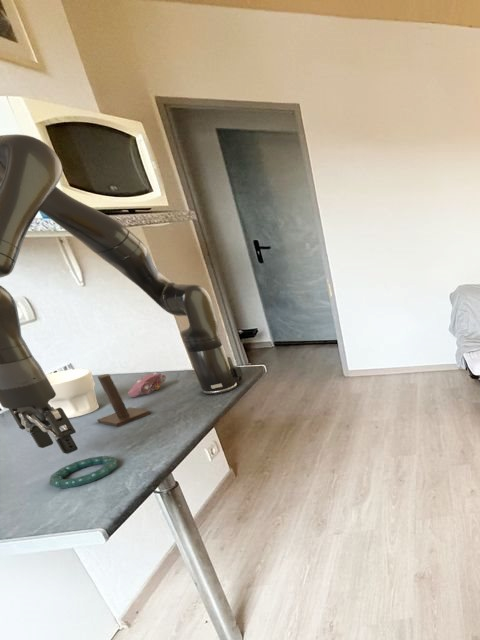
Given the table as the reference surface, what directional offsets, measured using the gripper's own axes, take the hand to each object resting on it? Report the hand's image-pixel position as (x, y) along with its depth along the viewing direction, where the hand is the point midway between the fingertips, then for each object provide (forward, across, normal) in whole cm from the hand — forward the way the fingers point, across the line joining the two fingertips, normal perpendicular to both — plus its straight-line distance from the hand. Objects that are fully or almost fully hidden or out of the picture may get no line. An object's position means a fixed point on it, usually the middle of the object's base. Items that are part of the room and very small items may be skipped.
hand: (58, 448), depth 91 cm
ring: (+5, -4, 0) cm, 7 cm away
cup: (+6, +37, -20) cm, 42 cm away
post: (+6, +19, -21) cm, 29 cm away
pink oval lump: (+6, +32, -36) cm, 48 cm away
